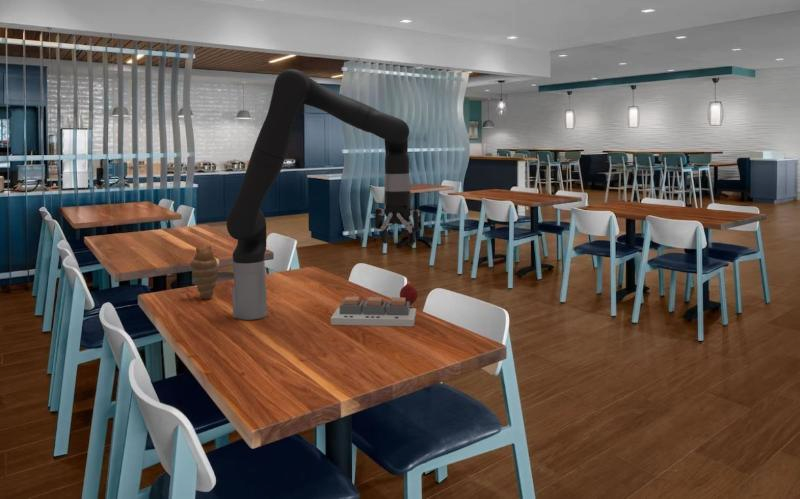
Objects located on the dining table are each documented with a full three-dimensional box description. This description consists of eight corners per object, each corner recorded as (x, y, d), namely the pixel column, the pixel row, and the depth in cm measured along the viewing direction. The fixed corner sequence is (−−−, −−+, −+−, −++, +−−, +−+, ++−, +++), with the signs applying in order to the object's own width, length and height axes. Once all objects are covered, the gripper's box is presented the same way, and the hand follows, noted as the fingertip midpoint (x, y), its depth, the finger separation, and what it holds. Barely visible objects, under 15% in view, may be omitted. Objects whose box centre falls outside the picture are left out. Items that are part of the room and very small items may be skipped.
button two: (344, 306, 179) (344, 299, 179) (346, 302, 183) (346, 296, 183) (357, 306, 179) (357, 300, 178) (359, 303, 183) (359, 296, 182)
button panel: (330, 324, 174) (330, 309, 174) (338, 313, 186) (338, 299, 185) (413, 326, 172) (413, 311, 172) (416, 314, 184) (416, 300, 183)
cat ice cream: (212, 294, 210) (209, 243, 207) (224, 298, 205) (221, 246, 202) (189, 299, 204) (185, 246, 201) (200, 303, 198) (197, 249, 195)
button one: (391, 307, 178) (391, 300, 177) (392, 303, 182) (392, 297, 181) (404, 307, 177) (404, 301, 177) (405, 304, 181) (405, 297, 181)
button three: (367, 306, 178) (367, 300, 178) (369, 303, 182) (369, 297, 182) (380, 307, 178) (380, 300, 178) (382, 303, 182) (382, 297, 182)
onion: (415, 308, 191) (416, 284, 189) (398, 307, 192) (398, 283, 191) (419, 304, 196) (419, 280, 195) (401, 303, 198) (401, 279, 196)
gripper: (369, 189, 175) (371, 244, 178) (413, 190, 168) (414, 247, 171) (382, 187, 182) (383, 240, 184) (425, 188, 175) (425, 243, 178)
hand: (398, 244), depth 178 cm, fingers open, 8 cm apart
